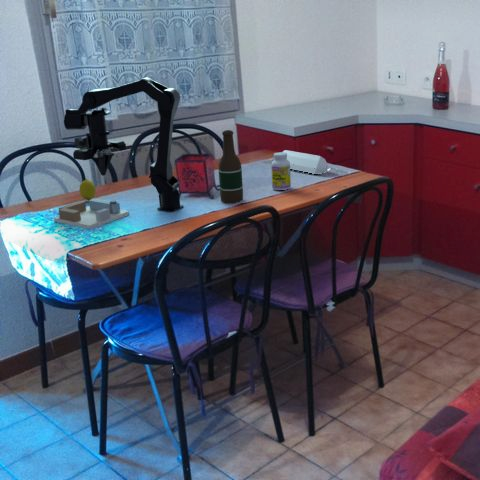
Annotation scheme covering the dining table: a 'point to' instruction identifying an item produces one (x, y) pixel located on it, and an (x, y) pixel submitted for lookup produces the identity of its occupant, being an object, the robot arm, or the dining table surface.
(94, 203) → the leg
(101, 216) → the seat
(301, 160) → the white triangular prism
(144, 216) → the dining table surface
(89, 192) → the lemon
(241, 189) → the beer bottle
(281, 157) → the supplement bottle
